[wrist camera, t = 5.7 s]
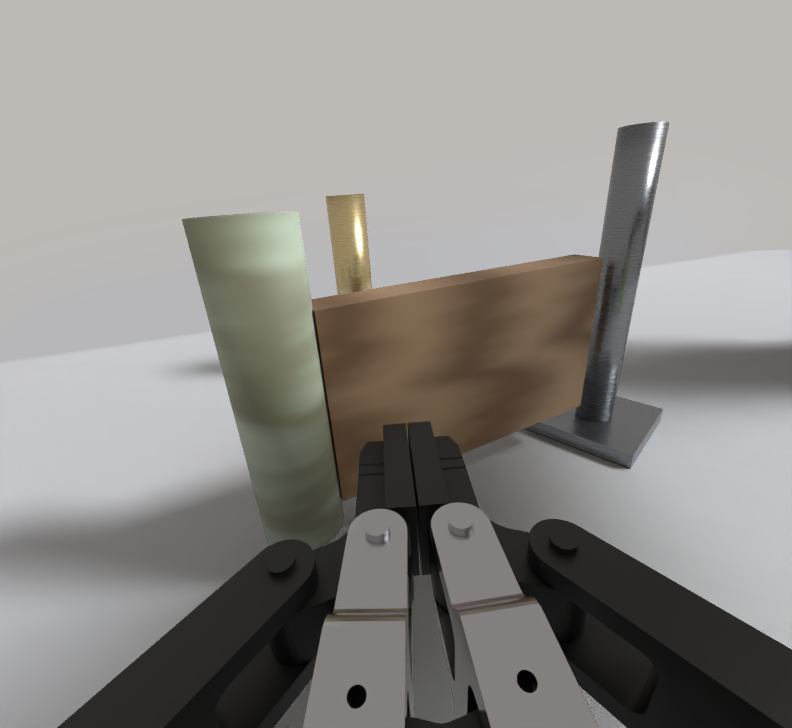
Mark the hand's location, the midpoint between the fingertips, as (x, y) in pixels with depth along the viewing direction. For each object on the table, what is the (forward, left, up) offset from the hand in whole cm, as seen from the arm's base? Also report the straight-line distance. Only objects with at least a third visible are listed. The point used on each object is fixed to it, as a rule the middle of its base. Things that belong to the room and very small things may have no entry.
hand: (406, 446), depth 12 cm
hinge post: (-15, +1, -6) cm, 17 cm away
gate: (-5, -2, -5) cm, 7 cm away
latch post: (-12, -17, -6) cm, 22 cm away
